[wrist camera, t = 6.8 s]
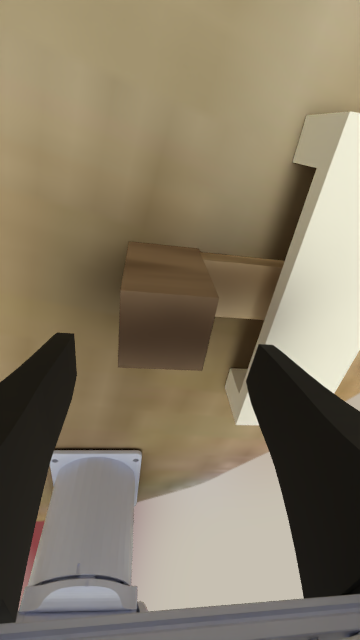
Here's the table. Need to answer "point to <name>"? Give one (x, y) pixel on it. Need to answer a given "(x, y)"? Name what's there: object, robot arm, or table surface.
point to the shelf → (317, 265)
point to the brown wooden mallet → (185, 302)
